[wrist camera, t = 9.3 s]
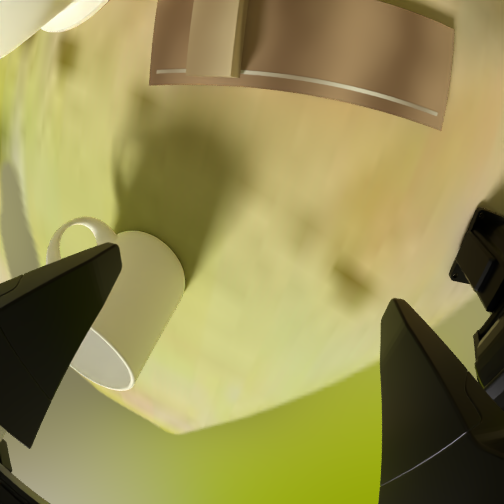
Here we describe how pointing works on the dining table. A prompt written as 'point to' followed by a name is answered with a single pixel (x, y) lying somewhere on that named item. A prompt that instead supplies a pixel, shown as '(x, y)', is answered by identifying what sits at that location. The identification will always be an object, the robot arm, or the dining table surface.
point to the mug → (127, 305)
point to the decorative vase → (41, 18)
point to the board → (325, 54)
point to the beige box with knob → (216, 38)
